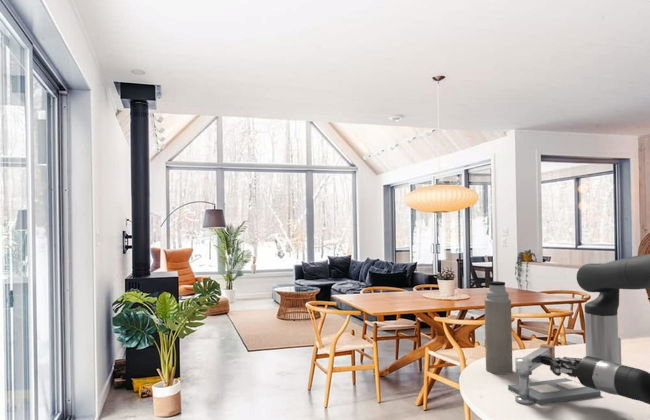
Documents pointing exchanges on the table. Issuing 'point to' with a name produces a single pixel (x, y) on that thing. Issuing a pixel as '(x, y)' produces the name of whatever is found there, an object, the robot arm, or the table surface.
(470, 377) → the table surface
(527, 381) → the post
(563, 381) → the label tray
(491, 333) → the thermos bottle
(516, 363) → the swing arm
